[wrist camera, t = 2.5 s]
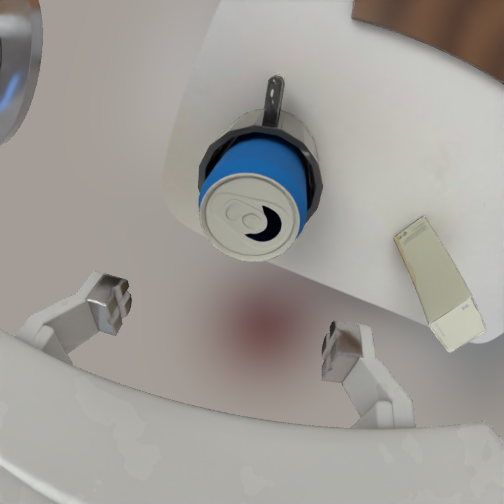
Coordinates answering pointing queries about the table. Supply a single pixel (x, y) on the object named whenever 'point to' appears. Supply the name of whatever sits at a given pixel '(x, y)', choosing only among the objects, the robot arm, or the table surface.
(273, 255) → the beverage can
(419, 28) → the serving board
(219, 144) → the mug
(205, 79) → the table surface
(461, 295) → the cosmetic box
